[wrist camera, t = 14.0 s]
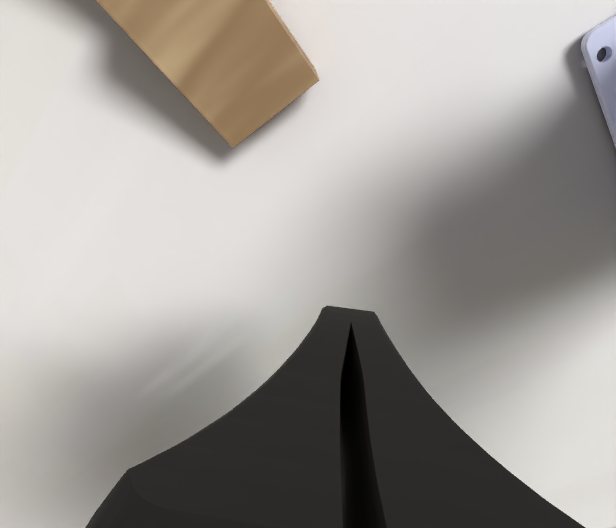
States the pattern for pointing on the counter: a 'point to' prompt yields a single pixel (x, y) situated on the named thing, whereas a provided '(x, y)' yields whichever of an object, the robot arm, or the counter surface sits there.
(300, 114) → the counter surface
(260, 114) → the tile
